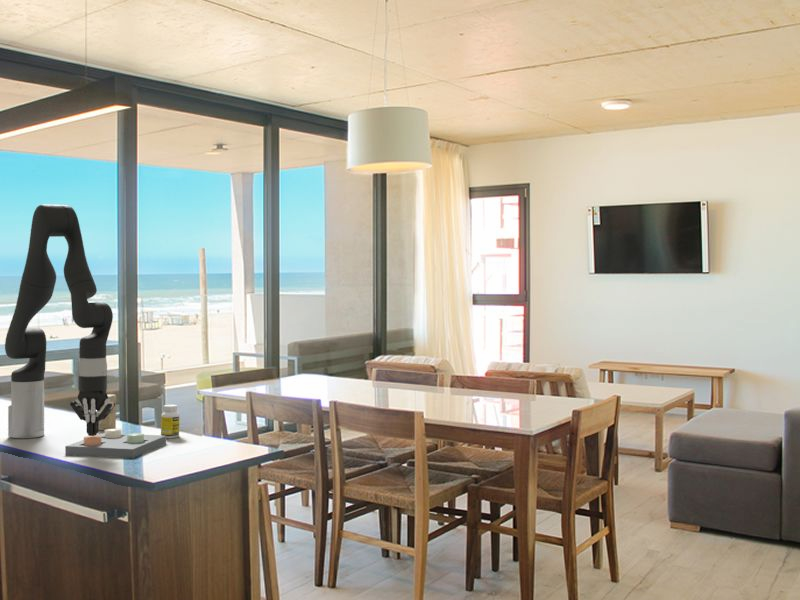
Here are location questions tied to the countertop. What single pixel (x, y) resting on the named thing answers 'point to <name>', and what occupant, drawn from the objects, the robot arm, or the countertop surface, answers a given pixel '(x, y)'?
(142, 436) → the sage button
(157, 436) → the panel
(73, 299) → the robot arm
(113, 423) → the box
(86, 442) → the terracotta button
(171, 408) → the supplement bottle
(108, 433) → the cream piece
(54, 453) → the countertop surface
